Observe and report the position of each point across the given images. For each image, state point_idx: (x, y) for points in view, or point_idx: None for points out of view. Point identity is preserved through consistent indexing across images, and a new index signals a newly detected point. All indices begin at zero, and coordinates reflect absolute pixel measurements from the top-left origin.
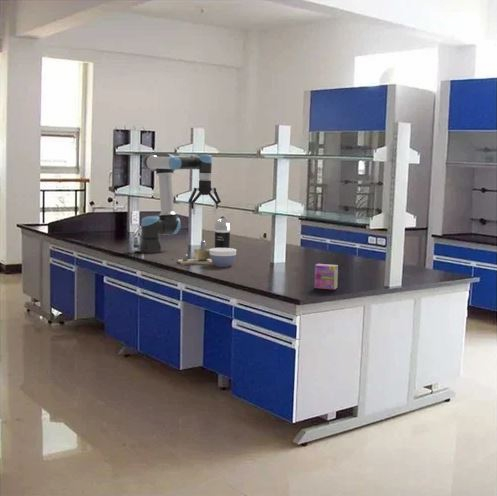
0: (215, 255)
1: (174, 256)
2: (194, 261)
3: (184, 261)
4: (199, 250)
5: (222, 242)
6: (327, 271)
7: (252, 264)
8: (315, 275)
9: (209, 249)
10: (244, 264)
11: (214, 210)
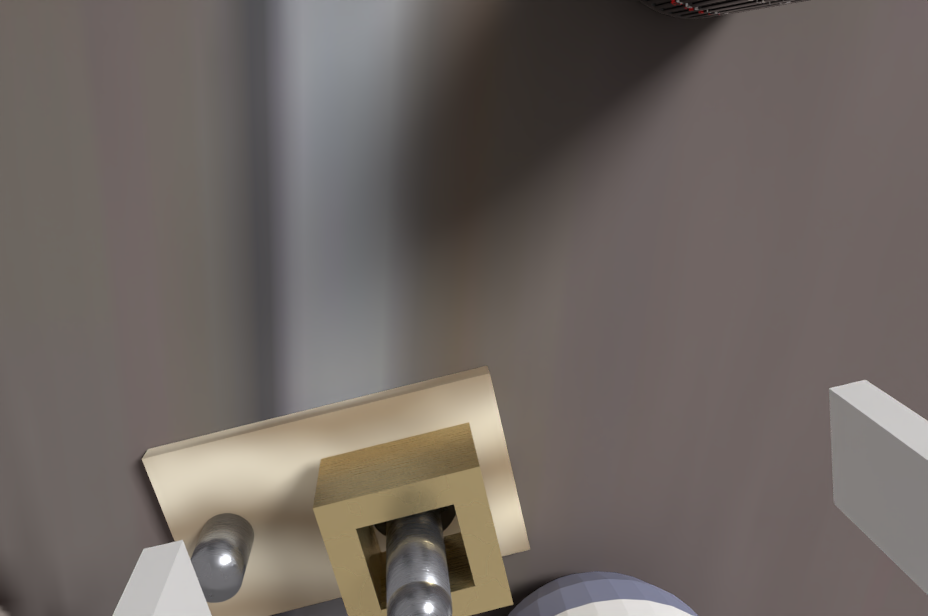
0: None
1: (64, 57)
2: (322, 552)
3: None
4: (371, 607)
5: (752, 4)
6: None
7: (848, 565)
8: None
9: (494, 528)
10: (780, 568)
11: (907, 524)
